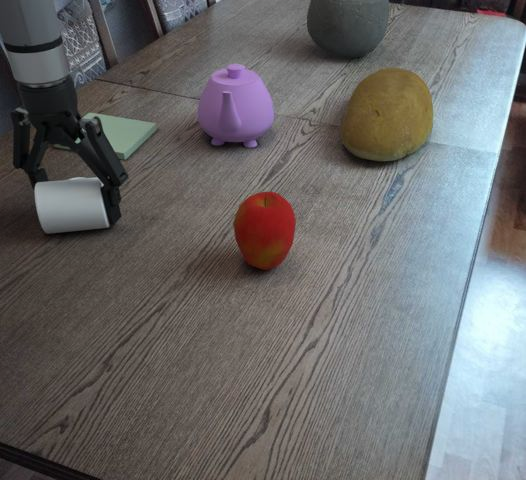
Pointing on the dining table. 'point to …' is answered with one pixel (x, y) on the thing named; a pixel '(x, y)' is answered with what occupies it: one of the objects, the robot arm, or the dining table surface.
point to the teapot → (235, 106)
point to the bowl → (347, 25)
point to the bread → (388, 115)
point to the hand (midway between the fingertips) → (82, 214)
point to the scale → (122, 133)
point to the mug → (70, 205)
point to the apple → (265, 229)
